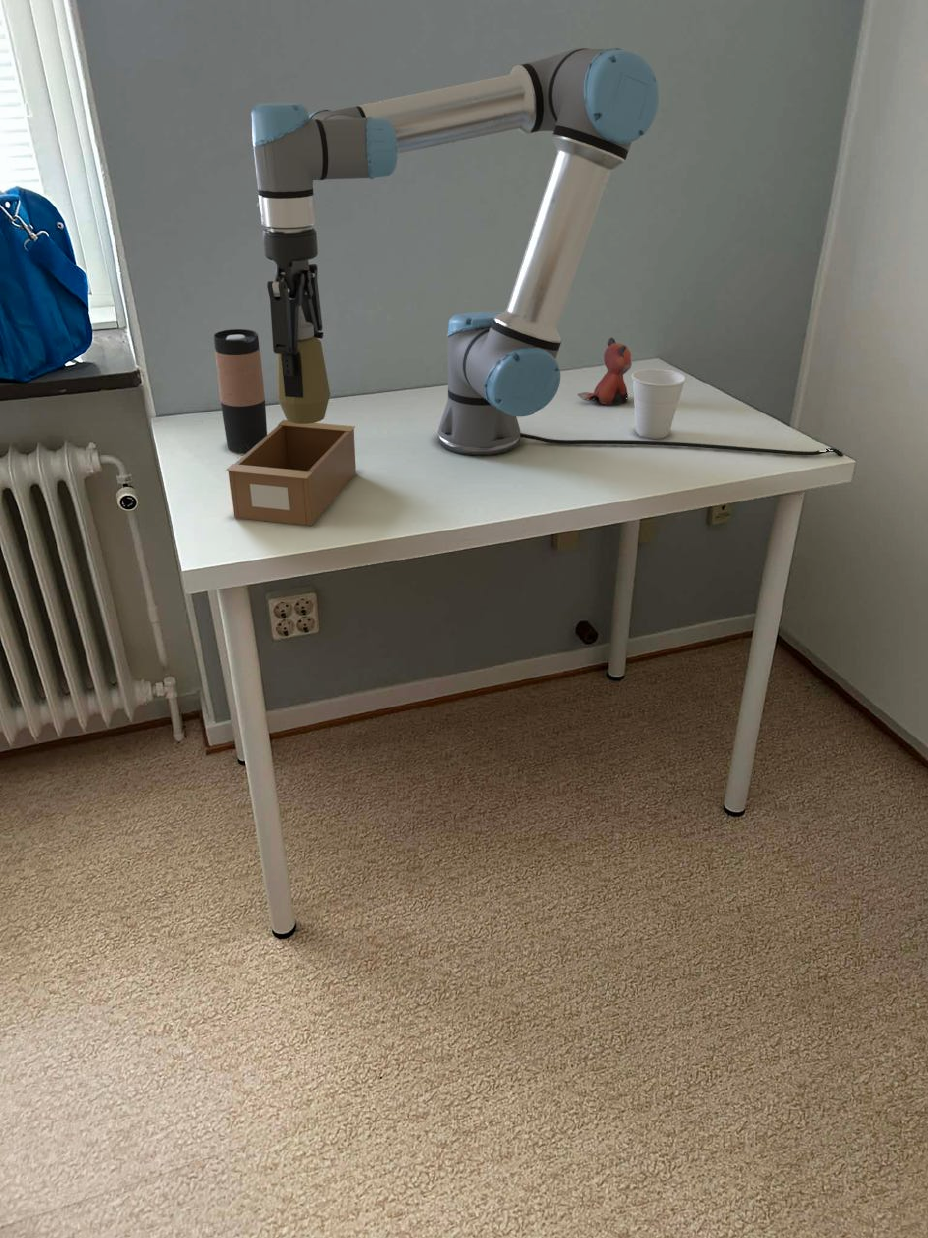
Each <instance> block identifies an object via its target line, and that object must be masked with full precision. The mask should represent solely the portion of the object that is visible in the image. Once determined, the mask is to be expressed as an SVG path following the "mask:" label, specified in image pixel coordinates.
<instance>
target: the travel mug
mask: <svg viewBox="0 0 928 1238" xmlns="http://www.w3.org/2000/svg"><path fill="white" fill-rule="evenodd" d="M213 344H214V353H215V361H216V370H217V371H216V372H217V381H218V391H219V399H220V406H221V407H220V408H221V412H222V419H223V425H224V431H225V432H224V433H225V438H226V439H225V440H226V445H227V448H228V450H229V451H230V452H232V453H236V454H237V453H238V454H246V453H247V452H249V451H250V450H251V449H252V448H253V447H254V446H255V445H257V444H258V443H259V442H260V441H261V440H262V439H263V438H265V437H266V436H267V435H268V427H267V411H266V410H267V409H266V395H265V385H264V378H263V377H264V375H263V368H262V357H261V349H260V338H259V334H258V332H257V331H255V330H251V329H245V328H233V329H225V330H221V331H220V330H219V331H218V332H216V333H214V334H213Z"/></svg>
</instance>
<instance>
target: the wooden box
mask: <svg viewBox="0 0 928 1238" xmlns="http://www.w3.org/2000/svg"><path fill="white" fill-rule="evenodd" d="M355 428H356V426H355V425H346V424H345V425H343V424H333V423H322V422H315V423H309V424H298V423H292V422H290V421H288V420H287V419H282V420H281V421H280V422H279V423H278V424H277V426H276V427H275V428H273V430H271V431H270V432H269V433H267V436H266V437H265V438H263V439H262V440H261V441H260V442H259V443H258V444H257V445H255V446H254V447H253V448H252V449H251V450H250V451H249V452H247V453H244V455H243V456H241V458H239V459H238V460H237V461H236V462H235V463H232V464H231V465H230V466H229V467H227V468H226V470H225V471H227V472H228V478H229V486H230V495H231V502H232V503H231V504H232V511H233V512H232V513H233V519H241V520H243V519H244V520H251V521H260V522H269V523H277V524H287V525H295V526H307V527H312V526H313V525H314V524H315V523H316V522H317V520H318V519H319V518H320V517H321V516H322V515H323V513H324V512H325V511H326V510H327V508H328V507H330V505H331V504H332V503H333V501H334V500H335V499H336V498H337V496H338V495H339V494H340V493H341V492H342V491H343V490H344V488H345V487H346V486H347V485H348V483H349V482H351V480H352V479H353V477H354V476H355V475H356V473H357V470H356V469H357V468H356V466H357V465H356V450H355V449H356V448H355V447H356V445H355Z"/></svg>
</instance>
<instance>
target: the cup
mask: <svg viewBox="0 0 928 1238" xmlns="http://www.w3.org/2000/svg"><path fill="white" fill-rule="evenodd" d="M631 379H632V387H633V401H634V402H633V404H634V419H635V421H634V422H635V423H634V425H635V432H636V433H637V435H638V436H639V437H642V438H645V439H650V440H651V439H652V440H659V439H663V438H666V437H667V436H668V435H669V434H670V431H671V427H672V425H673V420H674V417H675V413H676V410H677V408H678V404H679V400H680V397H681V395H682V391H683V387H684V385H685V383H686V382H687V378H686V376H685V375H684V374H682V373H680V372H678V371H674V370H670V369H663V368H645V369H639V370H636V371H634V372H633V373H631Z"/></svg>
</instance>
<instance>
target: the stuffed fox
mask: <svg viewBox="0 0 928 1238" xmlns="http://www.w3.org/2000/svg"><path fill="white" fill-rule="evenodd" d="M631 356H632V354H631V351H630V349H629V348H628V347H627V345H625V344H622V343H617V342H616V340H615V338H614V337H609V338H608V341H607V348H606V349H605V352H604V356H603V358H604V364H605V367H606V369H607V372H606V373H605V374H604V375H603V377H602V379H600V381H599V382H598V383H597V385H596V386H595V388H594V390H593V392H587V391H586V392H585V391H583V392H579V393H577V396H578V397H579V399H581V400H582V401H586V402H595V401H598V400H599V403H600V405H603V404H604V405H606V406H607V405H608V406H614V405H617V406H618V405H620V404H625V403H628V400H629V399H628V397H629V393H628V390H627V389H628V388H627V385H626V383H625V380H624V374H626V373H627V372H629V370H630V369H632V357H631ZM626 398H627V399H626Z"/></svg>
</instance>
